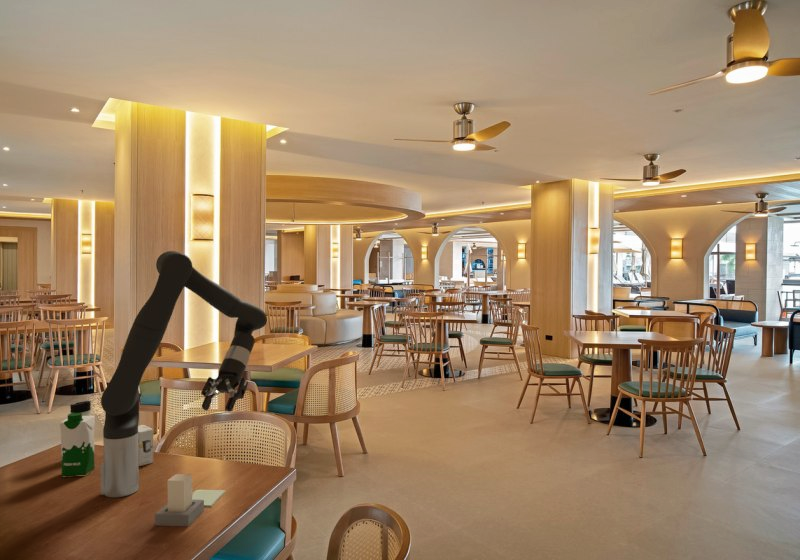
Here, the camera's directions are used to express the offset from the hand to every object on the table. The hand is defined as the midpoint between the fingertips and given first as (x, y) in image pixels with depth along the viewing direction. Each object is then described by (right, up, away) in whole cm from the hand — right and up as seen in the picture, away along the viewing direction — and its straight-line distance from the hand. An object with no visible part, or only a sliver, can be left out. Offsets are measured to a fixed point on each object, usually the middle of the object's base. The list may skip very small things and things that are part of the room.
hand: (216, 409), depth 159 cm
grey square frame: (-3, -25, -18) cm, 31 cm away
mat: (-1, -24, -6) cm, 25 cm away
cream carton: (-3, -25, -18) cm, 31 cm away
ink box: (-34, -24, +23) cm, 48 cm away
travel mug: (-58, -24, +28) cm, 69 cm away
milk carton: (-50, -24, +13) cm, 57 cm away
